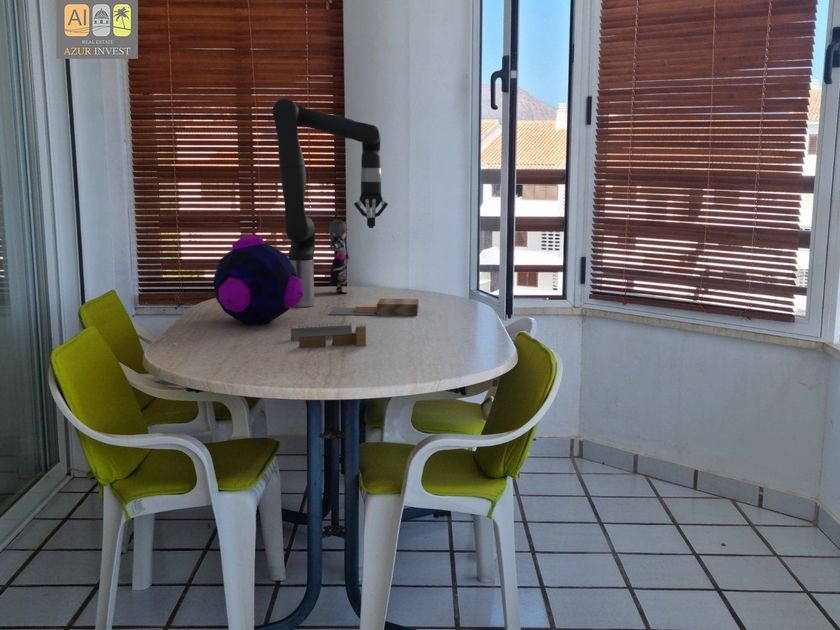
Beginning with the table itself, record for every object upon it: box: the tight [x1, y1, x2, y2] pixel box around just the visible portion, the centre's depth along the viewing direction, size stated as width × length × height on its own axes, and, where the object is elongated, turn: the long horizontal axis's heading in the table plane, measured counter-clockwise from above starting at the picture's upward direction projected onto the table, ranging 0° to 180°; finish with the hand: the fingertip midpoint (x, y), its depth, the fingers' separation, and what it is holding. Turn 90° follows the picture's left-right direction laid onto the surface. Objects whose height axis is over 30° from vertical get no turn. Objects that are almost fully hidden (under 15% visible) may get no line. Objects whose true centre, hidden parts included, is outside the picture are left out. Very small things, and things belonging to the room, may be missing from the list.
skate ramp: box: [290, 321, 367, 349], centre depth 267 cm, size 29×35×8 cm
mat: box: [328, 307, 377, 317], centre depth 325 cm, size 16×14×1 cm
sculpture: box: [213, 234, 304, 325], centre depth 300 cm, size 30×29×30 cm
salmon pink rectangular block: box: [355, 303, 377, 313], centre depth 325 cm, size 8×6×2 cm
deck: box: [376, 298, 420, 316], centre depth 324 cm, size 14×12×4 cm
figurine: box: [328, 219, 350, 294], centre depth 363 cm, size 17×8×30 cm, turn 179°
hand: (371, 227), depth 334 cm, fingers closed
